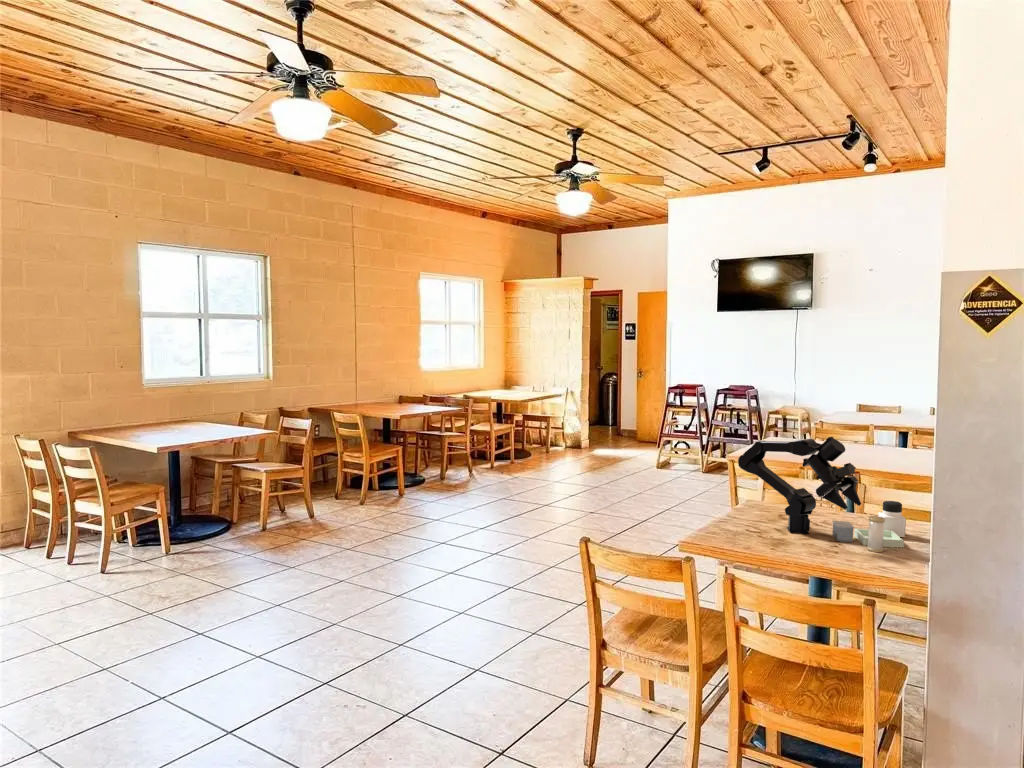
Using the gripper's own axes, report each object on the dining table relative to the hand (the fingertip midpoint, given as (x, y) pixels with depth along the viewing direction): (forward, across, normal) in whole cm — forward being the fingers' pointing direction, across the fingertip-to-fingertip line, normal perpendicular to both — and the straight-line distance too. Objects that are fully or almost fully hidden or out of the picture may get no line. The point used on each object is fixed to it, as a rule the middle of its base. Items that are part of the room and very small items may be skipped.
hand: (853, 506), depth 241 cm
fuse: (+15, 0, +4) cm, 15 cm away
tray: (+12, +11, +7) cm, 18 cm away
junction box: (+6, +4, +13) cm, 15 cm away
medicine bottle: (+11, +24, +8) cm, 28 cm away
